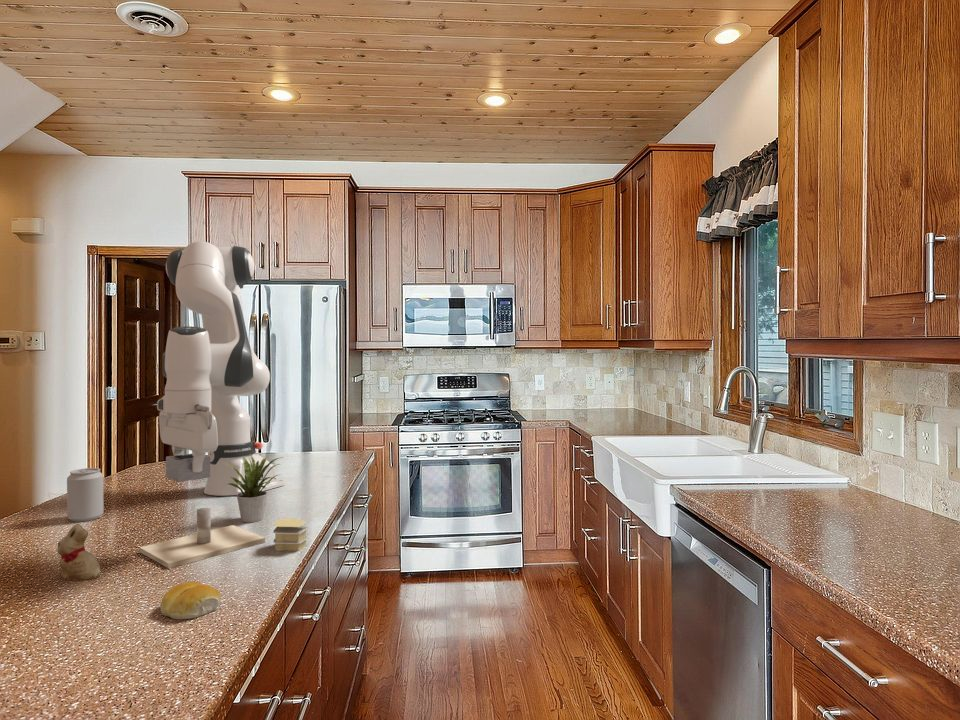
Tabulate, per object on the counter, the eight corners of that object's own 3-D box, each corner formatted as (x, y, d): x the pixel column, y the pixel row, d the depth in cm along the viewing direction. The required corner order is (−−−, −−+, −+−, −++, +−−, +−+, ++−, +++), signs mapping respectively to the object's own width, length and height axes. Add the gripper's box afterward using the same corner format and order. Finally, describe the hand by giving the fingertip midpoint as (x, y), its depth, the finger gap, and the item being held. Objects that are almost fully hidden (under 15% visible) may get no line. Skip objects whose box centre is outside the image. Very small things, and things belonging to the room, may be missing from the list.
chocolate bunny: (89, 566, 114) (89, 514, 114) (104, 576, 109) (104, 522, 109) (55, 574, 110) (54, 521, 109) (69, 585, 105) (68, 529, 104)
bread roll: (197, 594, 102) (197, 571, 102) (228, 606, 97) (228, 582, 97) (148, 612, 95) (148, 587, 95) (180, 626, 90) (180, 600, 90)
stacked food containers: (321, 543, 129) (320, 517, 129) (301, 557, 120) (300, 530, 120) (278, 540, 131) (278, 515, 130) (256, 554, 122) (256, 527, 122)
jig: (232, 529, 137) (232, 495, 137) (265, 542, 128) (264, 505, 128) (139, 552, 122) (139, 513, 121) (168, 568, 113) (168, 527, 112)
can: (85, 523, 141) (85, 473, 141) (59, 521, 142) (58, 472, 142) (111, 514, 148) (110, 467, 148) (85, 513, 150) (85, 466, 150)
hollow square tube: (196, 473, 129) (197, 452, 129) (210, 477, 125) (210, 456, 125) (165, 477, 124) (166, 456, 124) (178, 482, 120) (178, 460, 120)
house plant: (300, 515, 148) (300, 450, 148) (258, 531, 136) (258, 460, 135) (257, 508, 154) (257, 446, 154) (213, 523, 142) (213, 455, 141)
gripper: (226, 405, 120) (226, 473, 120) (183, 399, 133) (183, 461, 133) (194, 407, 115) (194, 478, 115) (153, 401, 128) (153, 464, 129)
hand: (188, 469), depth 124 cm, fingers closed on hollow square tube, 6 cm apart
